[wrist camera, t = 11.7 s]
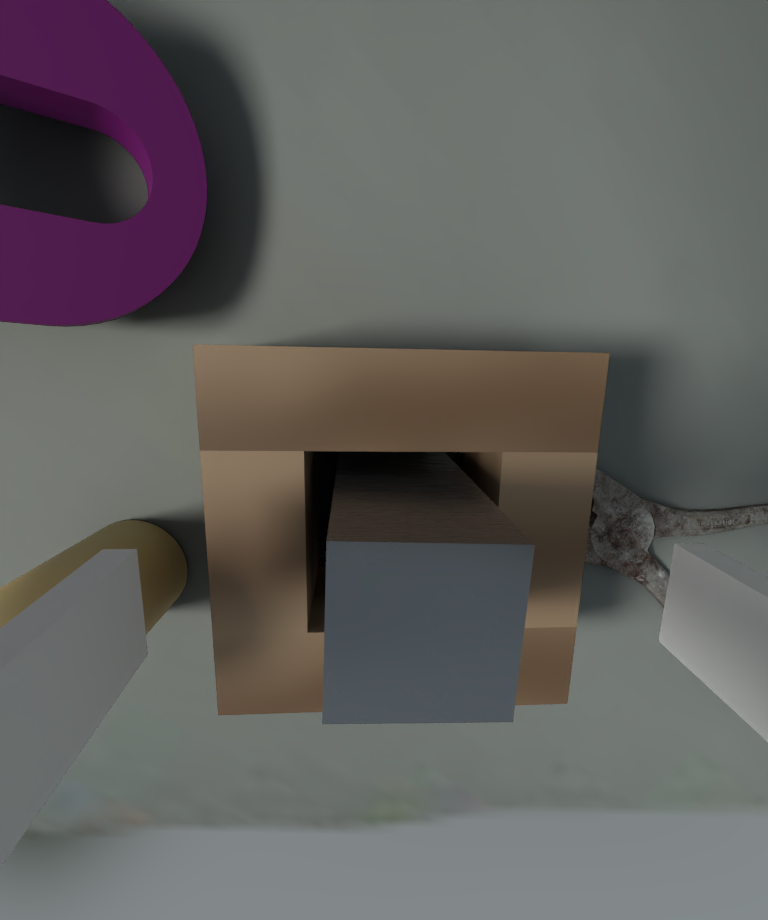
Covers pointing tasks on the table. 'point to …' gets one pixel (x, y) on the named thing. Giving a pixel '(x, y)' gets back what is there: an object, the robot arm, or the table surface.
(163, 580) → the round peg
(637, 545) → the pliers
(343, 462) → the square peg
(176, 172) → the mounting bracket
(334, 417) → the socket block
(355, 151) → the table surface
